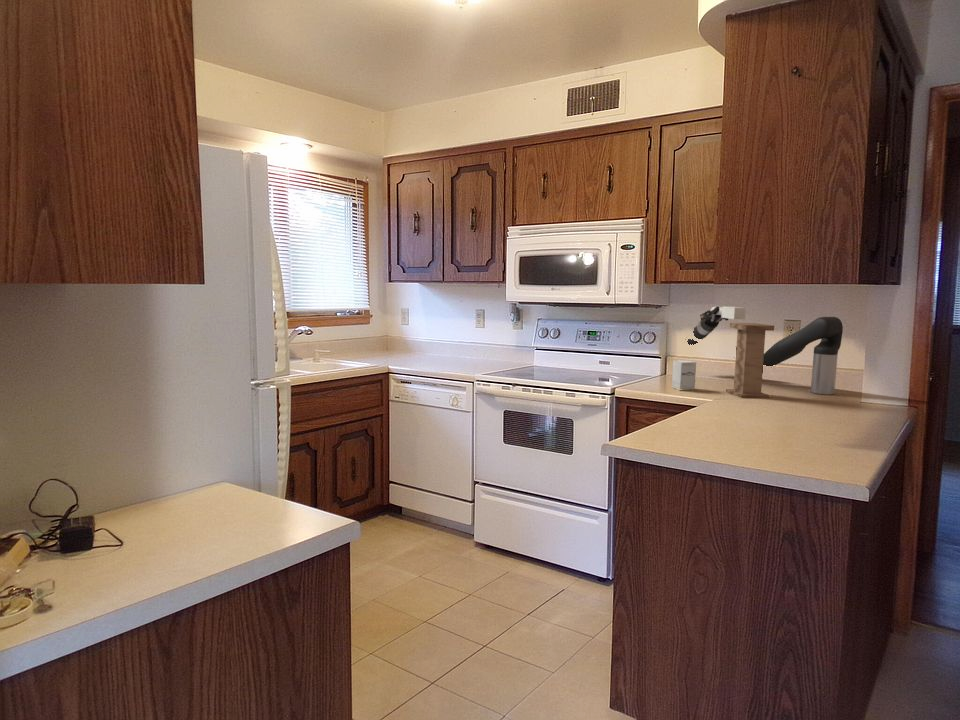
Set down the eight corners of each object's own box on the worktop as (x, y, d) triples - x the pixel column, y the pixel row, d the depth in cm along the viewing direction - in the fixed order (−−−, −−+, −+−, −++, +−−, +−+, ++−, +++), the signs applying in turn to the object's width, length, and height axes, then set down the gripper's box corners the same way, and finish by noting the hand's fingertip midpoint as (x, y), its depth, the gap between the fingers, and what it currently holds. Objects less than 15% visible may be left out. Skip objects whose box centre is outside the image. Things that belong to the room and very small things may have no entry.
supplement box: (679, 390, 283) (681, 362, 282) (671, 388, 290) (672, 360, 289) (695, 390, 285) (696, 362, 283) (686, 387, 292) (688, 359, 290)
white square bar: (708, 315, 307) (709, 305, 306) (719, 315, 307) (719, 305, 307) (733, 319, 282) (734, 307, 281) (745, 319, 283) (745, 307, 282)
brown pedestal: (725, 392, 282) (730, 322, 278) (752, 392, 283) (757, 323, 279) (741, 398, 268) (746, 325, 264) (769, 398, 269) (774, 325, 265)
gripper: (723, 331, 313) (739, 315, 297) (694, 331, 312) (709, 315, 296) (720, 317, 316) (736, 301, 300) (692, 317, 315) (706, 300, 299)
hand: (722, 308), depth 298 cm, fingers closed on white square bar, 3 cm apart
